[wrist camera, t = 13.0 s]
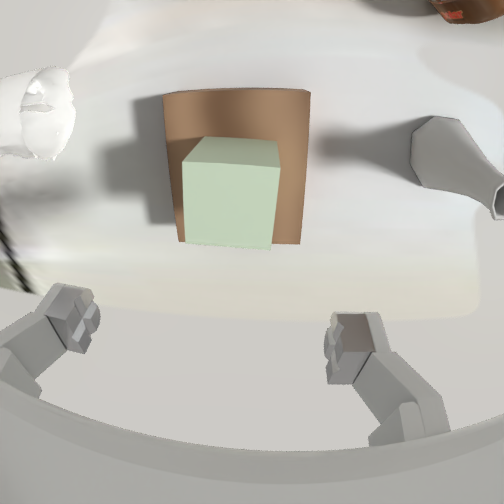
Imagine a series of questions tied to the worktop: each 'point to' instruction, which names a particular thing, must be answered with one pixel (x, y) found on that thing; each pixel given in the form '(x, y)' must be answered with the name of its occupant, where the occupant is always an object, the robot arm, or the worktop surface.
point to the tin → (469, 10)
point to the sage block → (231, 192)
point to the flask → (456, 164)
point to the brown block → (250, 127)
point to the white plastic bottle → (36, 113)
